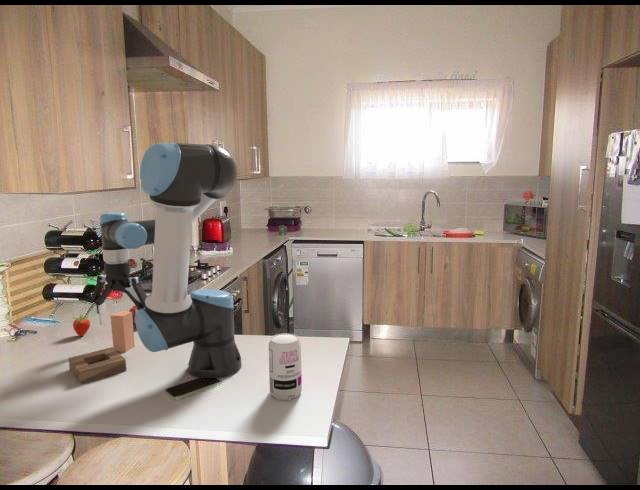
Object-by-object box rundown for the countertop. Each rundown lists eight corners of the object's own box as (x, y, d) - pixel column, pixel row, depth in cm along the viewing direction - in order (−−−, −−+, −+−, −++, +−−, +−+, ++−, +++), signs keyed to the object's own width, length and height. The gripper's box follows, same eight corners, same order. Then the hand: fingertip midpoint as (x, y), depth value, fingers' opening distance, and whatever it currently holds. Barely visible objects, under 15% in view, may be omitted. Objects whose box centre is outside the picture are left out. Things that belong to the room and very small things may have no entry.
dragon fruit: (131, 325, 168) (154, 334, 164) (116, 319, 161) (141, 328, 157) (142, 305, 171) (165, 313, 167) (128, 298, 164) (152, 306, 160)
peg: (134, 346, 144) (131, 311, 142) (125, 352, 140) (122, 316, 138) (122, 345, 145) (119, 310, 143) (113, 350, 141) (110, 315, 139)
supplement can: (285, 382, 119) (284, 330, 116) (308, 392, 113) (307, 337, 111) (263, 394, 112) (261, 339, 110) (286, 405, 107) (285, 347, 105)
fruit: (79, 333, 157) (77, 311, 155) (93, 333, 156) (91, 311, 155) (70, 338, 151) (68, 316, 150) (85, 338, 151) (83, 316, 150)
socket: (126, 370, 127) (125, 359, 126) (80, 383, 119) (79, 371, 118) (113, 357, 135) (112, 347, 135) (69, 369, 127) (68, 358, 127)
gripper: (159, 261, 138) (162, 324, 142) (91, 257, 144) (97, 318, 148) (144, 266, 131) (149, 332, 135) (74, 261, 137) (80, 326, 140)
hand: (121, 325), depth 141 cm, fingers open, 13 cm apart
